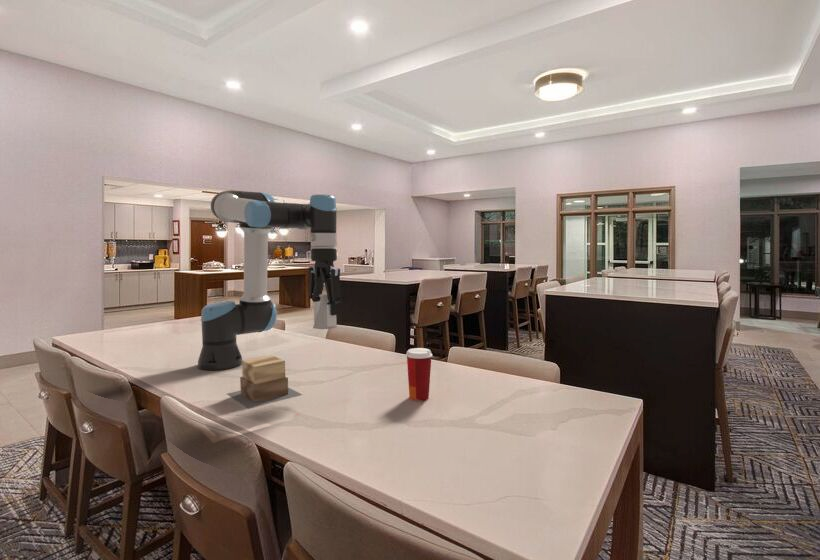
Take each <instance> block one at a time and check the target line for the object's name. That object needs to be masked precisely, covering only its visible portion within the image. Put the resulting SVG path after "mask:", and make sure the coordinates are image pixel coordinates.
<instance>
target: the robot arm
mask: <svg viewBox="0 0 820 560" xmlns="http://www.w3.org/2000/svg"><path fill="white" fill-rule="evenodd" d="M210 210H211V212H212V214H213V216H215V218H217V219H219V221H220V220H221V221H224V222H227V223H236V224H239V228H240V229H241V230H242V232H243V294H242V295H241V297H239V304H236V302H235V301H234V300H225V301H218V302H217V301H216V302H213V303H209V304H206V305H205V306H203V308H201V314H200V315H201V316H200V317H201V318H200V322H201V339H202V340H201V341H202V342H201V343H202V347H201V350H200V353H199V357H198V360H197V368H198V369H200V370H203V371H219V370H220V371H223V370H228V369H232V368H235V367H239V366H242V360H243V357H242V356H243V355H242V354H241V351H240V349H239V345H238V343H237V336H238V335H247V334H253V333H254V334H255V333H262V332H266V331H269V330H271V329H272V328H273V327H274V326H275V324H276V322H277V317H278V315H277V314H278V311H277V306H276V304H275V302H274V301H272V297H270V295H268V263H269V262H268V259H269V258H268V254H269V253H268V247H269V246H268V243H269V233H270V232H271V231H272V230H273V229H274V228H276V229H278V228H279V229H281V228H282V229H297V230H308V229H310V246H311V247H312V248H311V249H310V260H311V261H312V262H315V263H314V266H310V267H309V268H308V270H309V271H308V272H309V285H308V288H309V289H308V290H309V291H308V298H309V299H311V301H312V302H313V323H315V320H316V318H317V314H318V311H319V307H320V297H319V295H322V294H323V290H324V286H325V291H326V294H327V297H328V303H327V326H328V327H330V326H338V325H337V312H338V311H337V310H338V309H337V308H338V307H337V304H339V303H342V289H341V277H340V276H341V269H340V268H336V267H335V265H334V262H335V261H337V260H338V254H337V253H338V251H337V248H336V247H337V246H338V241H337V210H338V208H337V202H336V197H335V196H334V195H331V194H312V195H311V196H310V198H309V203H291V202H277V200H276V198H275V197H274V196H273V195H272V194H270V193H265V192H260V191H259V192H255V191H244V190H231V189H230V190H224V191H220V192H218V193H217V194H215V195H214V196H213V197H212V199H211V201H210Z"/></svg>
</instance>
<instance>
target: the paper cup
mask: <svg viewBox="0 0 820 560" xmlns="http://www.w3.org/2000/svg"><path fill="white" fill-rule="evenodd" d="M405 356H406V360H407V377H408V378H407V380H408V381H407V382H408V392H409V393H408V394H409V399H410V400H411V401H415V402H424V401H427V400H428V399H429V397H430V384H431V383H430V382H431V370H432V369H431V368H432V357H433V353H432V351H431V349H429V348H424V347H414V348H413V347H412V348H409V349H408V350H407V351H406V354H405Z"/></svg>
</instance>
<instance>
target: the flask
mask: <svg viewBox="0 0 820 560" xmlns="http://www.w3.org/2000/svg"><path fill="white" fill-rule="evenodd" d="M319 297H320V307H319V311H318V314H317V318H316V320H315V323H314V322H313V323H314V324H313V327H312V329H317V330H331V329H336V328H337V326H338V325H337V326H330V327H328V326H327V303H328V297H327V293H326V294H323V293H322V295H319Z"/></svg>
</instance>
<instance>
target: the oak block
mask: <svg viewBox="0 0 820 560" xmlns="http://www.w3.org/2000/svg"><path fill="white" fill-rule="evenodd" d="M241 369H242V372H241V373H242V374H241V375H242V377H243V378H245V379H247V380H248V381H250V382H252V383H254V384H259V383H264V382H268V381H273V380H277V379H282V378H285V377H286V360H284V359H282V358H279V357H276V356H274V355H271V354H270V355H265V356H264V355H263V356H260V357H254V358H248V359H242V364H241Z"/></svg>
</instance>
